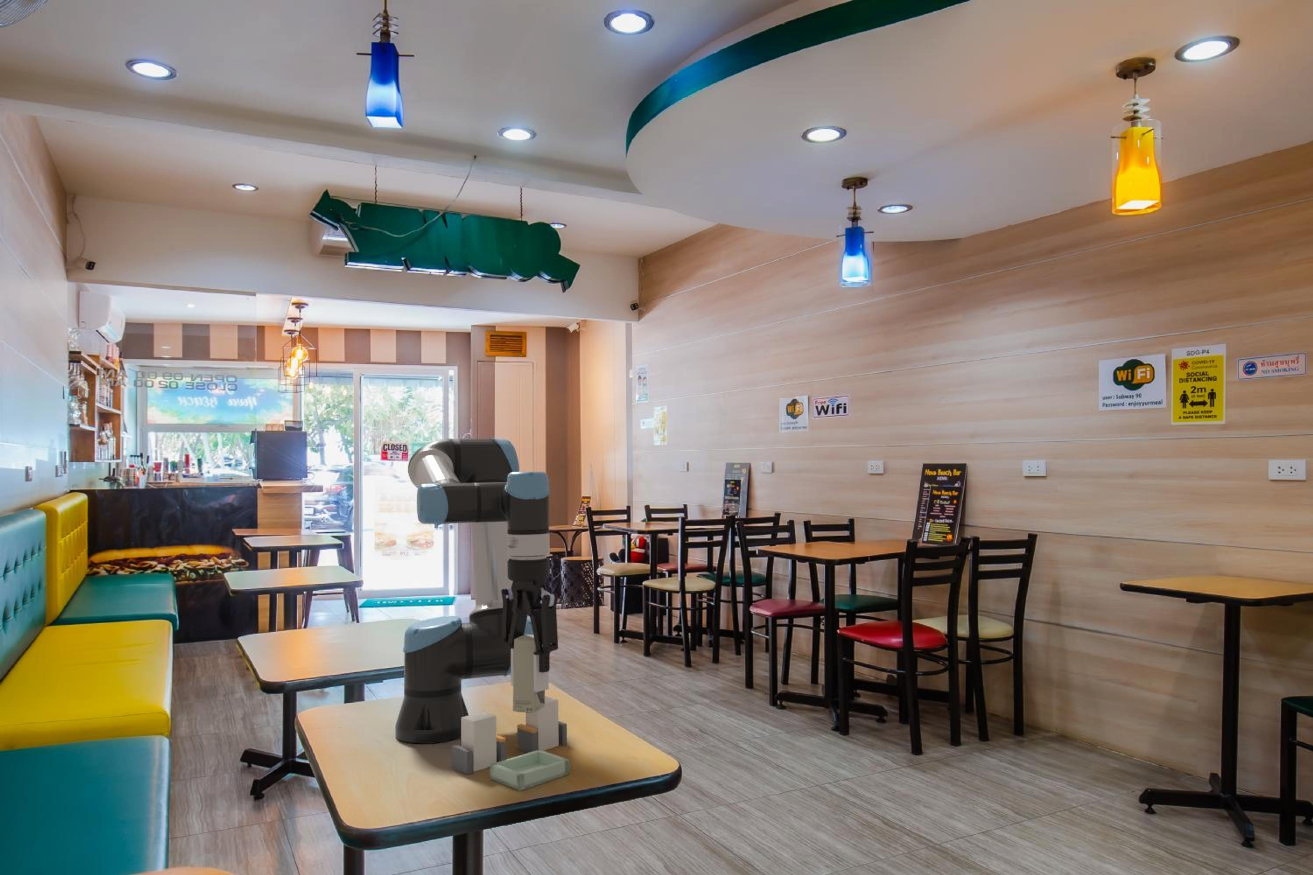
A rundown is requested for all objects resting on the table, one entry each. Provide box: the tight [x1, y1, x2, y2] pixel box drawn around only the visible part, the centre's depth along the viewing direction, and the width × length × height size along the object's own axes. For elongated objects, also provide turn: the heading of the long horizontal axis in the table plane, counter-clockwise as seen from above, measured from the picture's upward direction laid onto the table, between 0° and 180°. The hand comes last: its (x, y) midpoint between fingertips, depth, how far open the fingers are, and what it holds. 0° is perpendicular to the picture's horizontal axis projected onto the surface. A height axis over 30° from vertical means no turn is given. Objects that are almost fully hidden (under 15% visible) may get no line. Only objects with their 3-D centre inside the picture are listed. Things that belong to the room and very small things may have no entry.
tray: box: [489, 750, 570, 792], centre depth 156 cm, size 9×11×2 cm
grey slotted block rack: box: [451, 720, 568, 775], centre depth 168 cm, size 5×23×5 cm, turn 135°
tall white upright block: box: [460, 711, 497, 773], centre depth 162 cm, size 4×5×9 cm
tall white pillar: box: [525, 695, 560, 751], centre depth 173 cm, size 4×5×9 cm
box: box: [512, 635, 546, 714], centre depth 157 cm, size 5×4×13 cm
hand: (529, 686), depth 157 cm, fingers closed on box, 6 cm apart
